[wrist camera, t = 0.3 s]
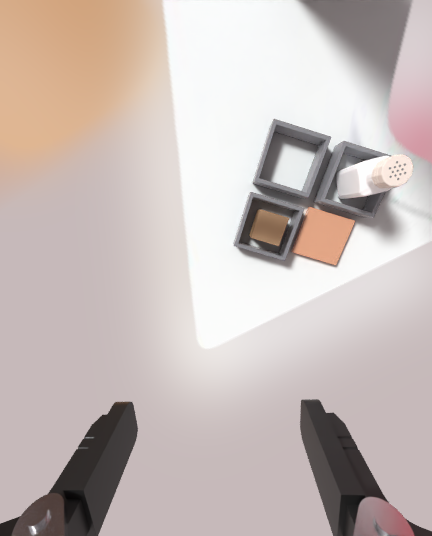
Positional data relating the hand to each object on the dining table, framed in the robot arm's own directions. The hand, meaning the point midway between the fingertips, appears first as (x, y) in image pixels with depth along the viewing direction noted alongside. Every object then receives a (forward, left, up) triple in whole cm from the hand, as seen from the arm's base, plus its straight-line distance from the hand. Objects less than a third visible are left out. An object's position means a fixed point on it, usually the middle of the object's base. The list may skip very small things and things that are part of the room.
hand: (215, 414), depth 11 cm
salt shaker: (-18, +14, -27) cm, 35 cm away
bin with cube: (-9, +4, -27) cm, 28 cm away
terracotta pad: (-10, +13, -27) cm, 31 cm away
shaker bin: (-18, +14, -27) cm, 35 cm away
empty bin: (-18, +4, -27) cm, 33 cm away
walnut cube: (-9, +4, -27) cm, 29 cm away
